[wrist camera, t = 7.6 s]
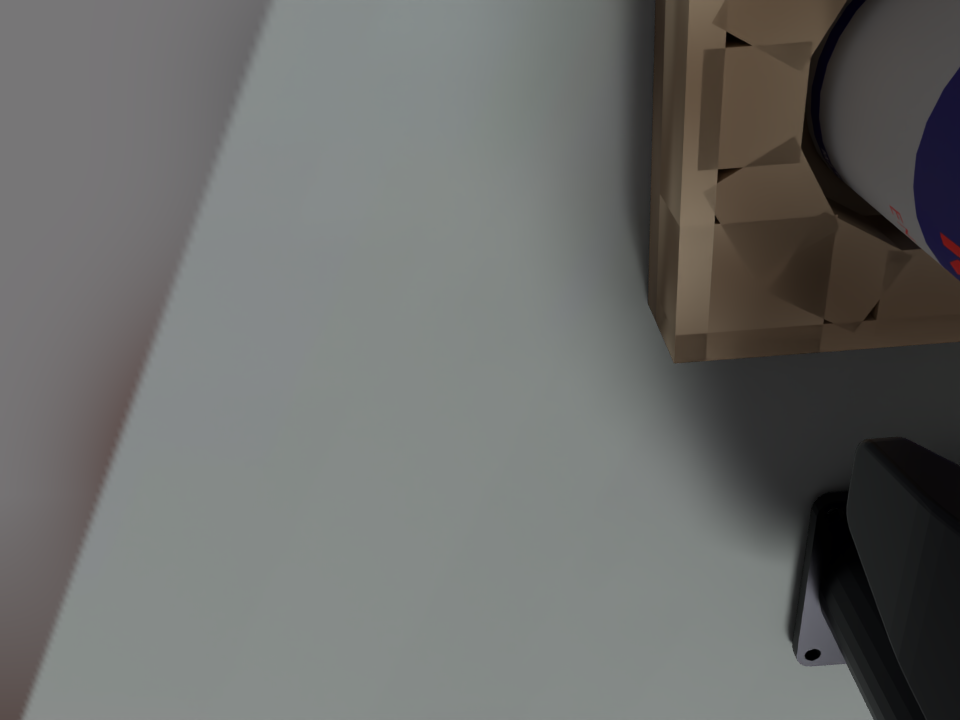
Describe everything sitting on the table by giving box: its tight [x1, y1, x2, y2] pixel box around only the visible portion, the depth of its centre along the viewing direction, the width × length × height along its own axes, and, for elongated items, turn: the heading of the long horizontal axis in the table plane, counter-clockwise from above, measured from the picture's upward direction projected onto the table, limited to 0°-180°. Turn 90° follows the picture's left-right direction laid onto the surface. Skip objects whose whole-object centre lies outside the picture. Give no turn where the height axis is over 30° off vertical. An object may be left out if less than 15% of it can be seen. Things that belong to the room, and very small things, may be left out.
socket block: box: [648, 0, 960, 363], centre depth 19 cm, size 11×11×3 cm
